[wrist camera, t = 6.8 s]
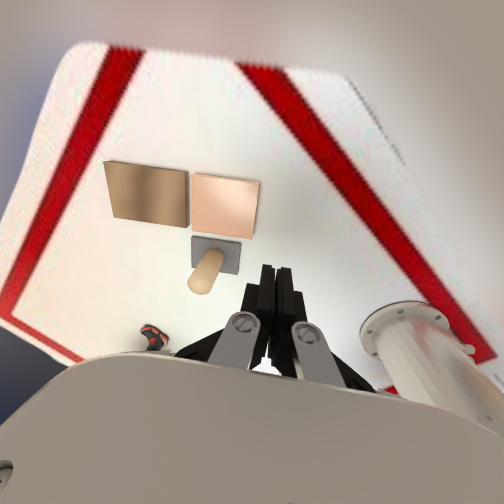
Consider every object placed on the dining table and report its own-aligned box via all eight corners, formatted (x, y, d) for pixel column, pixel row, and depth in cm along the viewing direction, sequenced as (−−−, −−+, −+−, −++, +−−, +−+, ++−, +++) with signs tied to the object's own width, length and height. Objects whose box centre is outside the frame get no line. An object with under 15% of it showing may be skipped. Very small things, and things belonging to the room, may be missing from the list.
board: (188, 171, 25) (184, 172, 24) (189, 225, 28) (186, 228, 27) (110, 161, 26) (103, 161, 24) (119, 214, 29) (113, 217, 28)
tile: (258, 184, 23) (190, 174, 24) (251, 239, 27) (191, 230, 27) (259, 181, 25) (197, 173, 26) (253, 233, 29) (197, 225, 29)
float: (241, 242, 29) (231, 270, 22) (238, 272, 31) (228, 306, 24) (193, 235, 29) (168, 261, 22) (193, 265, 31) (170, 297, 24)
